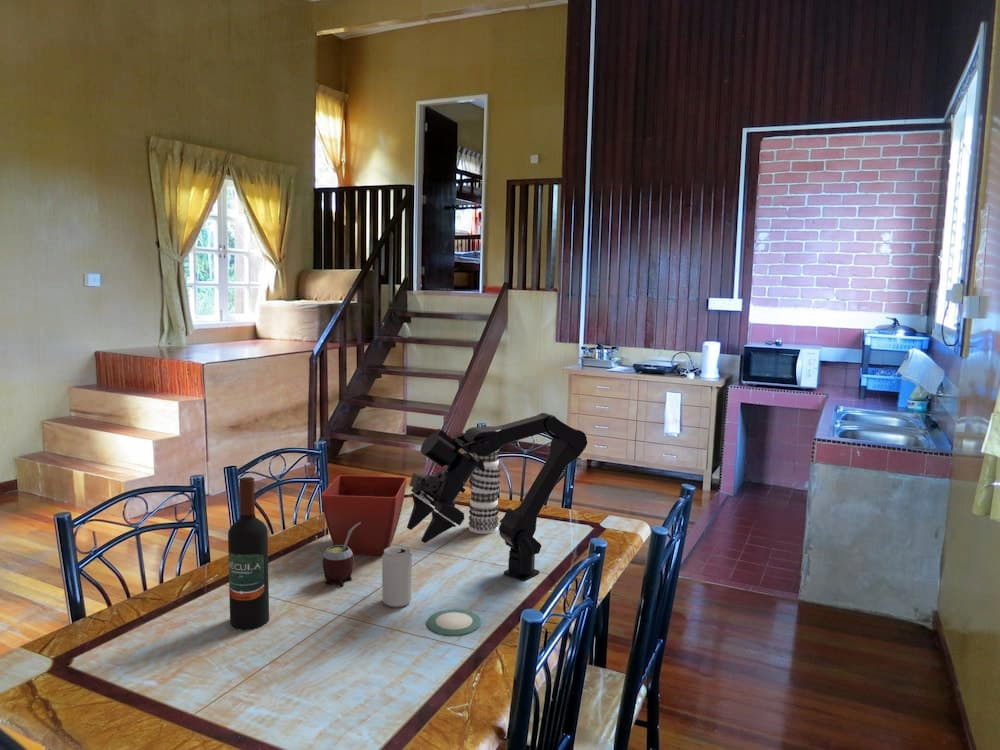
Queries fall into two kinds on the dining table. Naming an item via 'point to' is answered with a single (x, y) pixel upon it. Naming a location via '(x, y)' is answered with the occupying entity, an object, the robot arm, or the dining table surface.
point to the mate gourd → (338, 562)
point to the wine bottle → (248, 564)
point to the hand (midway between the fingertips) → (415, 535)
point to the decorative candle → (484, 496)
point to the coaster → (453, 622)
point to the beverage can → (397, 576)
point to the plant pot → (364, 511)
